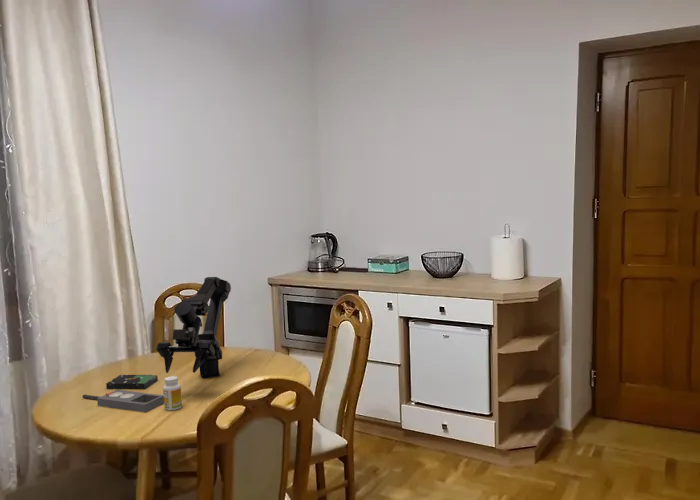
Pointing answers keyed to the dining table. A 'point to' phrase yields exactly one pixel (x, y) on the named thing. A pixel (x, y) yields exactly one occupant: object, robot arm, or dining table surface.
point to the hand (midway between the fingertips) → (180, 372)
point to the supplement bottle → (172, 393)
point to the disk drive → (132, 382)
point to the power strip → (128, 400)
